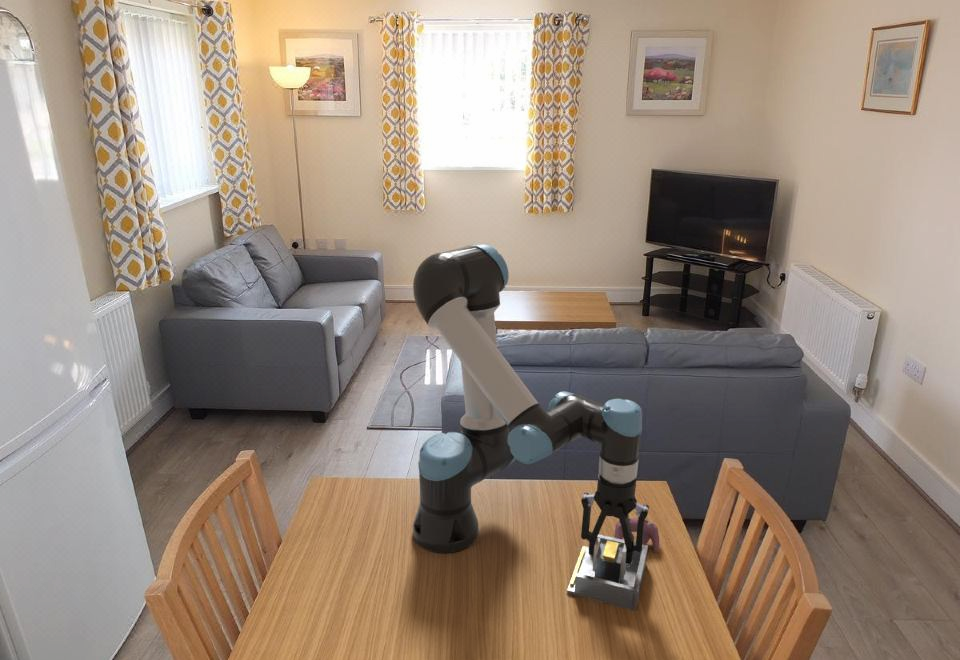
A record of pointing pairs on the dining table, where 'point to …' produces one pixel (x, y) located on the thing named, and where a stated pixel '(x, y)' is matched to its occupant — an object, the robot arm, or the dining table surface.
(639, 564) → the open box
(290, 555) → the dining table surface
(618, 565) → the grey and yellow block
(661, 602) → the dining table surface
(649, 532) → the video game controller
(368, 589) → the dining table surface
